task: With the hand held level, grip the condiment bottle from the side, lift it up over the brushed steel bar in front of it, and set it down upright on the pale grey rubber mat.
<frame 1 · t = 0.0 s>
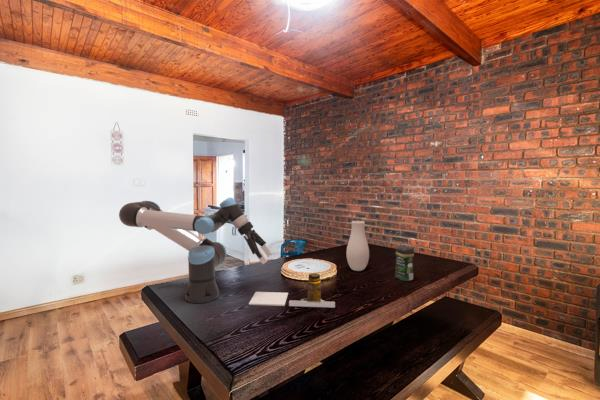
hand: (267, 259, 151), 15 cm above the table, tool tilted 35°, fingers open, 13 cm apart
condiment: (312, 301, 137), on the table
vase: (357, 270, 184), on the table
mat: (269, 299, 139), on the table
coffee jar: (403, 279, 167), on the table
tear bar: (311, 306, 131), on the table
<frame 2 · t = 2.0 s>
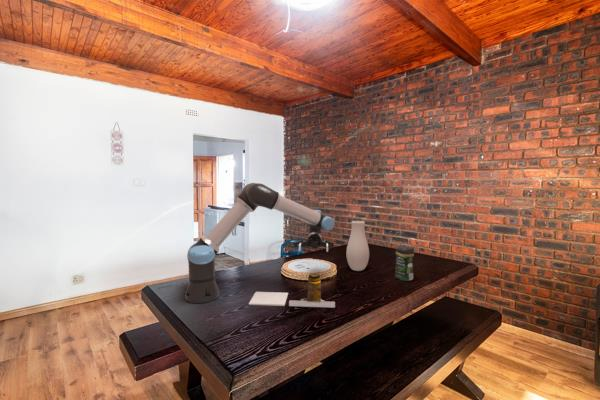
hand: (313, 248, 145), 22 cm above the table, tool horizontal, fingers open, 13 cm apart
nothing on the table moved.
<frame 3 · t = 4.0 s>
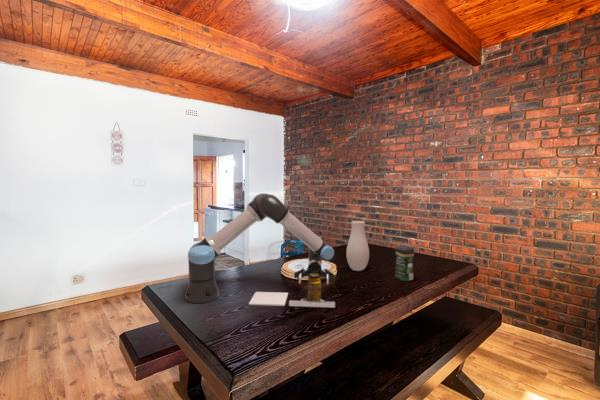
hand: (313, 280, 145), 6 cm above the table, tool horizontal, fingers open, 13 cm apart
nothing on the table moved.
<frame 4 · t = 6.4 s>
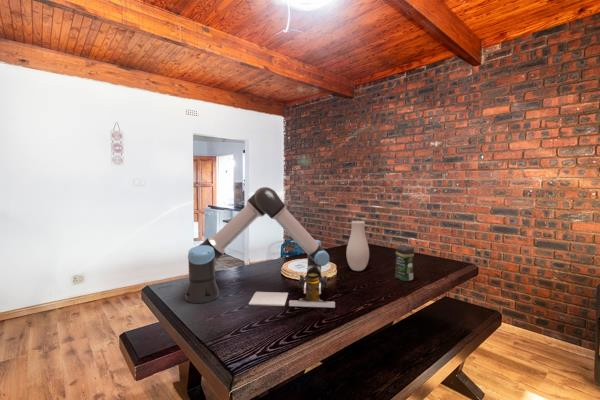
hand: (312, 290, 131), 7 cm above the table, tool horizontal, fingers closed on condiment, 6 cm apart
condiment: (310, 300, 137), on the table, touching gripper
everything else where it was.
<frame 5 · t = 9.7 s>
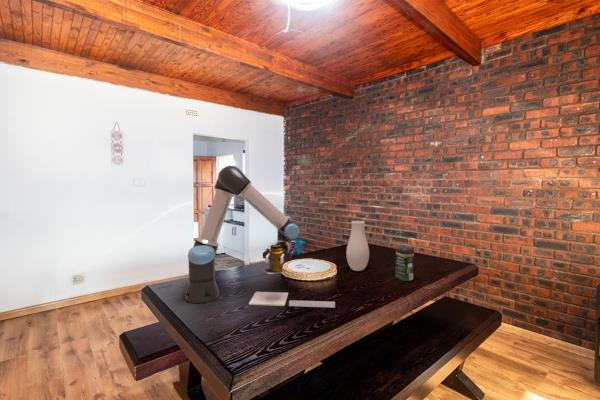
hand: (273, 260, 132), 20 cm above the table, tool horizontal, fingers closed on condiment, 6 cm apart
condiment: (274, 271, 138), point 13 cm above the table, touching gripper
everything else where it was.
when the fingers open (8 cm above the table, at t = 12.9 s): condiment drops 1 cm, resting on mat.
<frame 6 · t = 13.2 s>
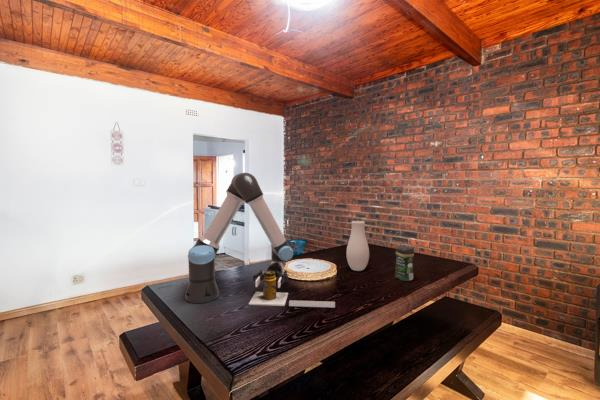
hand: (267, 284, 134), 8 cm above the table, tool horizontal, fingers open, 9 cm apart
condiment: (268, 298, 139), resting on mat
everything else where it was.
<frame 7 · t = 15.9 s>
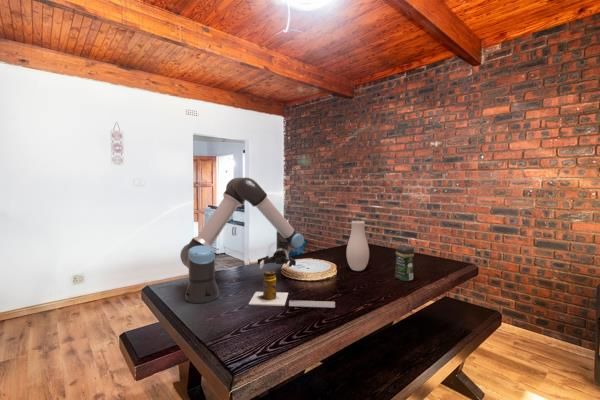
hand: (274, 266, 149), 12 cm above the table, tool horizontal, fingers open, 13 cm apart
nothing on the table moved.
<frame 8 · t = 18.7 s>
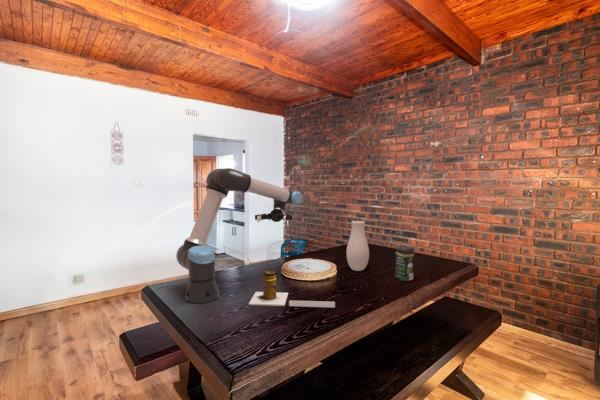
hand: (270, 219, 153), 35 cm above the table, tool horizontal, fingers open, 13 cm apart
nothing on the table moved.
at the end: condiment inside the target area on the mat (0.6 cm from its centre), point 0.4 cm above the mat's base; condiment tilted 0°; the gripper is holding nothing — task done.
